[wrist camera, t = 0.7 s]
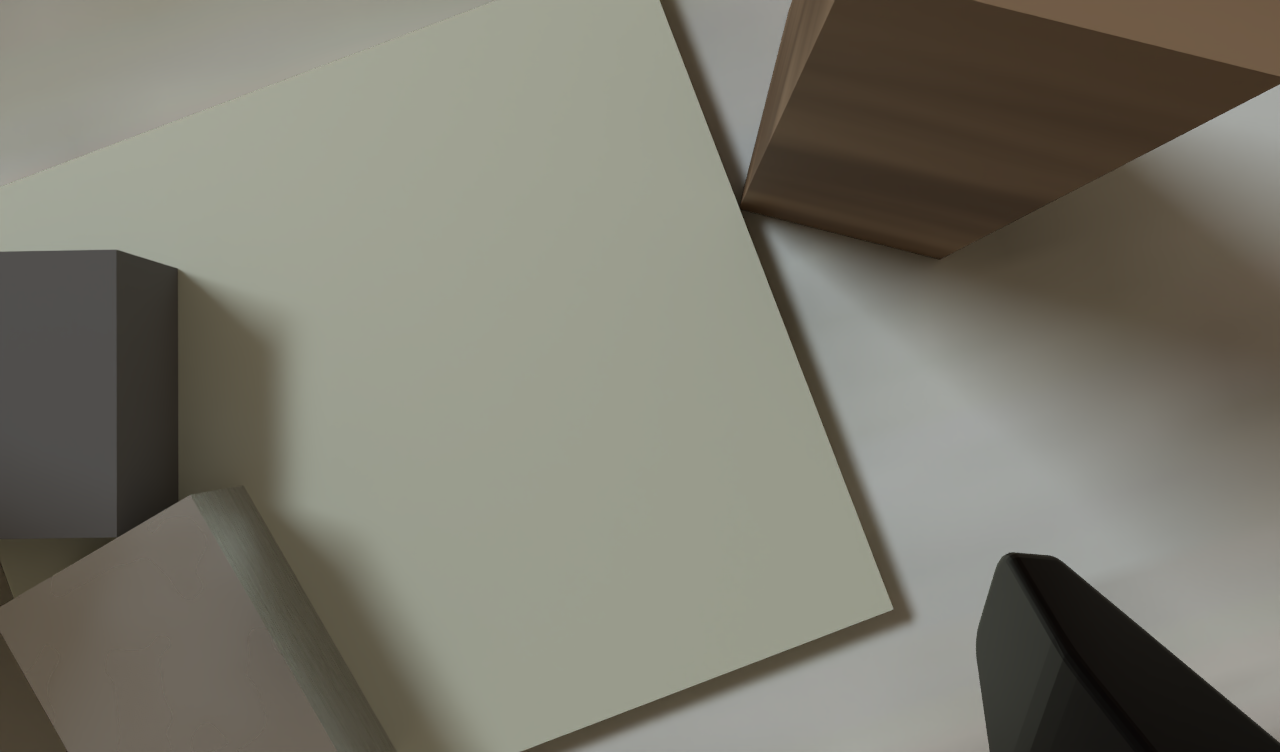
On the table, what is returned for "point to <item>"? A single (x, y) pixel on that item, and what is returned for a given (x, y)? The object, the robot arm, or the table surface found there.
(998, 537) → the table surface
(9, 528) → the black rubber block
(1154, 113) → the walnut post
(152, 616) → the grey metal block
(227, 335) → the sage board
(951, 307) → the table surface
